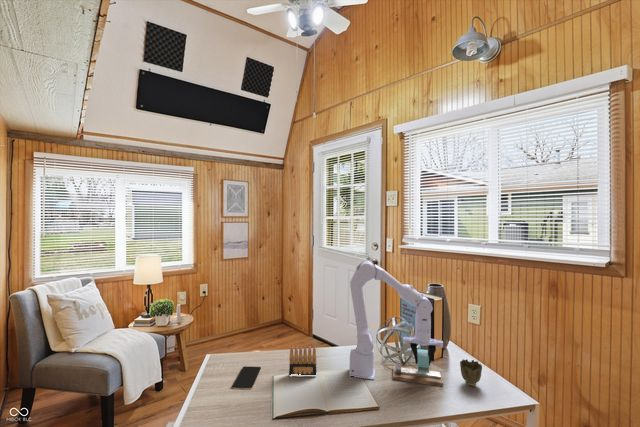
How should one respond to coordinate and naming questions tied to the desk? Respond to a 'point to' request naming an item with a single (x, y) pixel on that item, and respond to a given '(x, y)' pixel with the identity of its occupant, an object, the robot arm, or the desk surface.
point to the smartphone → (246, 378)
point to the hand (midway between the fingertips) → (422, 363)
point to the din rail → (416, 372)
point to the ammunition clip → (302, 361)
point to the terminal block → (423, 361)
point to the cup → (471, 372)
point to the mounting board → (417, 378)
